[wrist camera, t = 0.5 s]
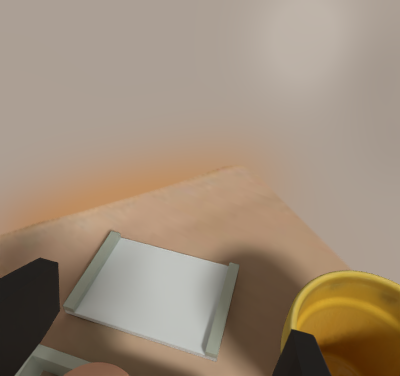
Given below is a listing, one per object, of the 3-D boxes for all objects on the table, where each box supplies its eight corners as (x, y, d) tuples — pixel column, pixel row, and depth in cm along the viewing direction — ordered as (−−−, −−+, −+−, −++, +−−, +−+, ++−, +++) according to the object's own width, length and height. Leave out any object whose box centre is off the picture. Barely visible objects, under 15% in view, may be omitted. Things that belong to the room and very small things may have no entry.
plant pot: (240, 429, 24) (263, 381, 17) (285, 311, 31) (314, 246, 24) (394, 529, 20) (497, 519, 14) (406, 371, 27) (478, 313, 20)
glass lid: (216, 361, 27) (217, 355, 26) (66, 312, 30) (62, 305, 29) (237, 272, 33) (239, 264, 33) (113, 238, 36) (111, 230, 35)
